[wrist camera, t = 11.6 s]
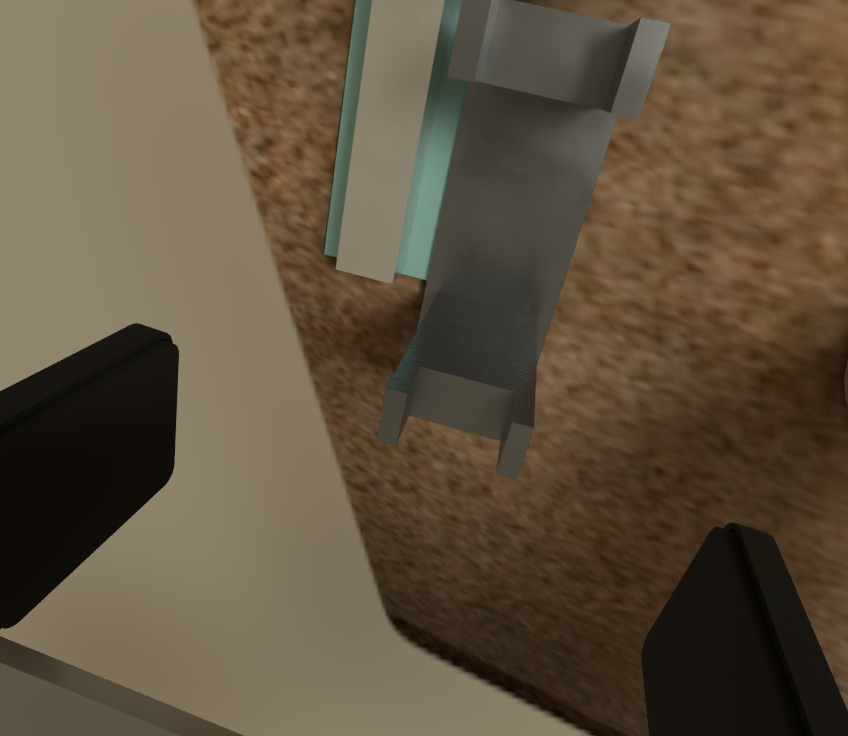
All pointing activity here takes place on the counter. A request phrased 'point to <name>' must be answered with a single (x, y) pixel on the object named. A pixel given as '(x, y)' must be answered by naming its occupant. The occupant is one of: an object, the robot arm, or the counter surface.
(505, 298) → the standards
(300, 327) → the counter surface
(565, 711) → the counter surface
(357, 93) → the mat
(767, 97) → the counter surface
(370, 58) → the rail
